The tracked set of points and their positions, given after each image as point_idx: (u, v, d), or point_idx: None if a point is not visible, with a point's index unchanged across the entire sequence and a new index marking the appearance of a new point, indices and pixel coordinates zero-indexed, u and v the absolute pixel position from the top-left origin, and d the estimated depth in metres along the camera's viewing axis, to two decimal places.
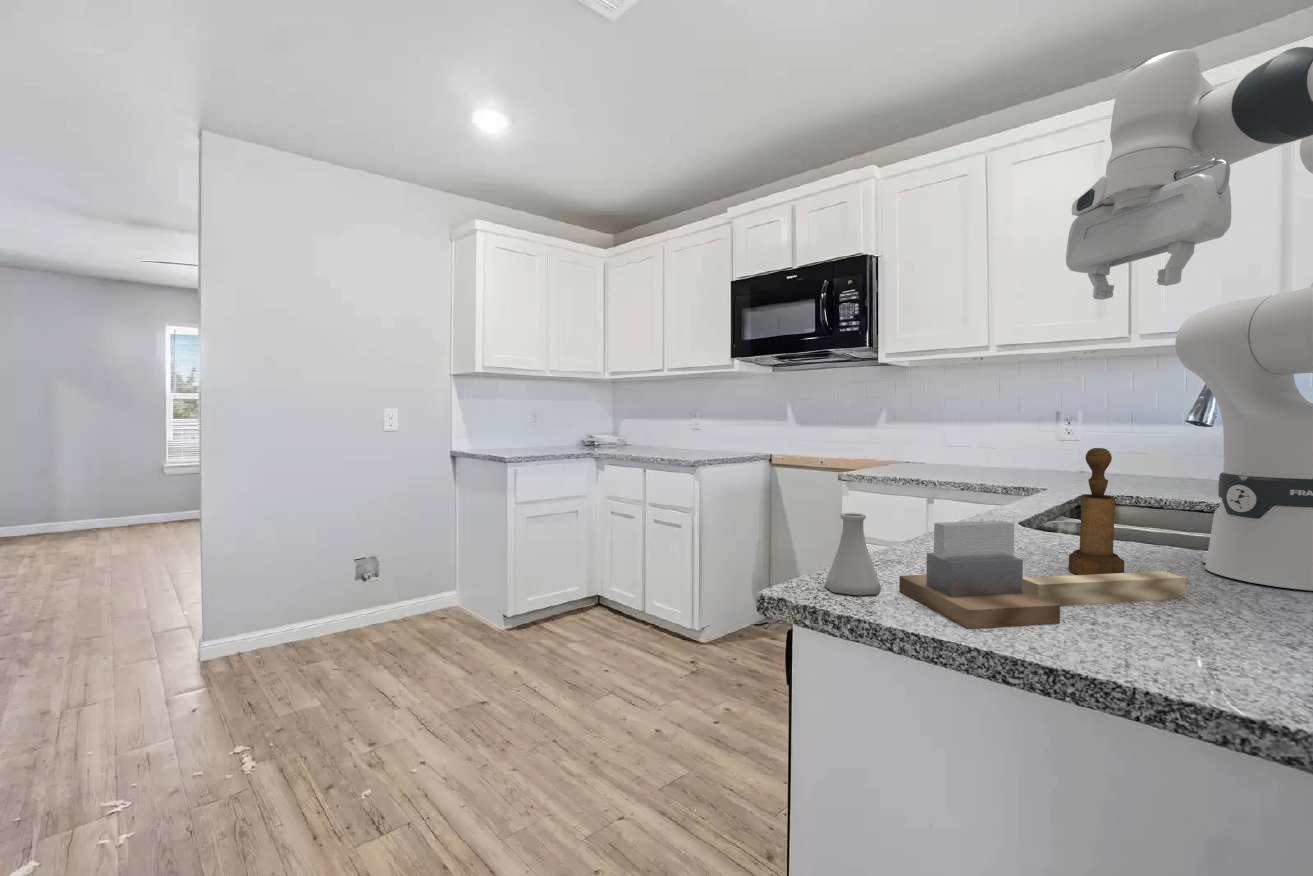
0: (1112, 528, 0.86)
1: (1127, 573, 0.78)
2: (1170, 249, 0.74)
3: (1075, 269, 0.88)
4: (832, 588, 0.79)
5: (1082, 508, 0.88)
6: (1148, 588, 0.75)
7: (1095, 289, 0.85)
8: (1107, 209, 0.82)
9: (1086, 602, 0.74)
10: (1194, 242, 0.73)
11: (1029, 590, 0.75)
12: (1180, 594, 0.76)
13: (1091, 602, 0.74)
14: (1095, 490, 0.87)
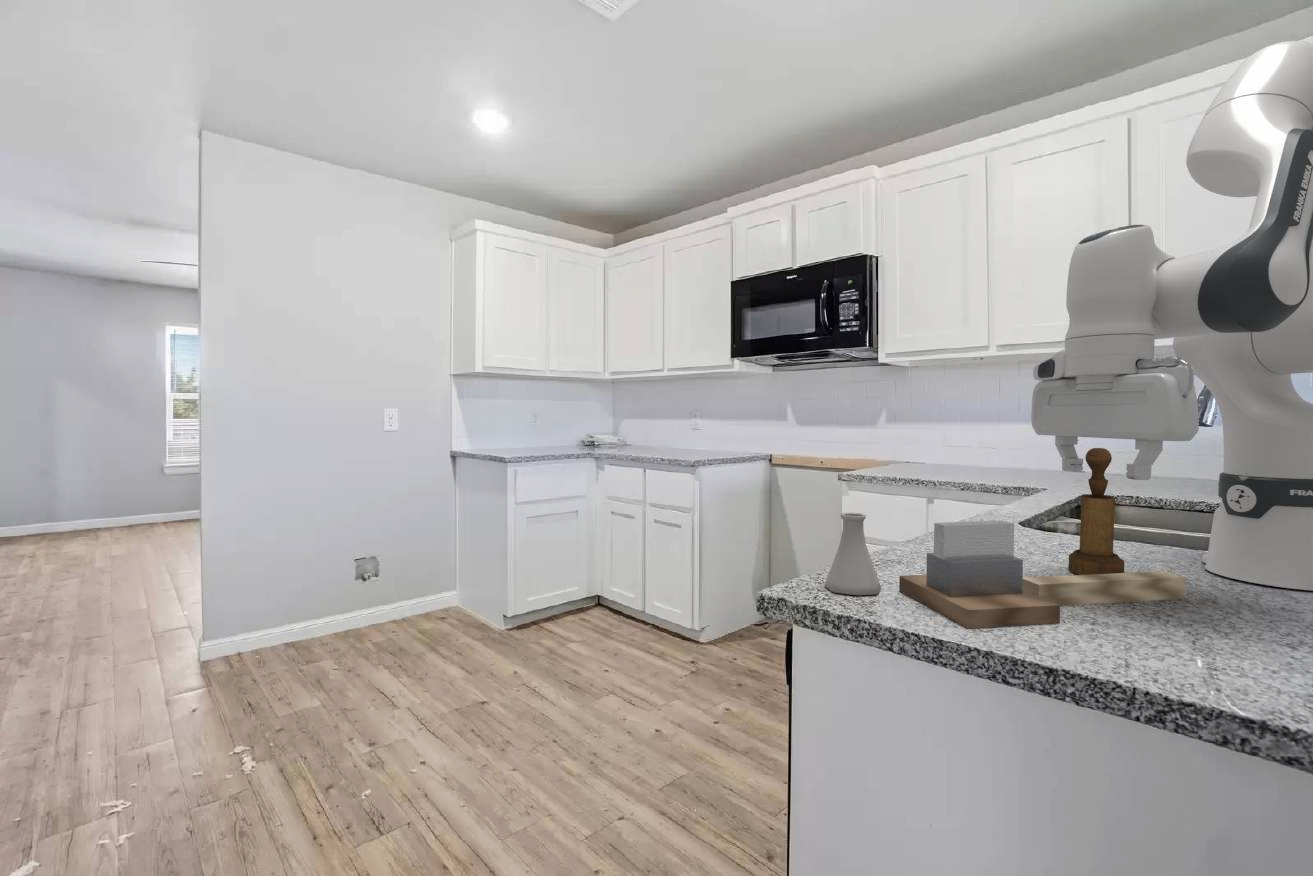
0: (1112, 528, 0.86)
1: (1127, 573, 0.78)
2: (1137, 445, 0.70)
3: (1042, 434, 0.83)
4: (832, 588, 0.79)
5: (1082, 508, 0.88)
6: (1148, 588, 0.75)
7: (1064, 462, 0.80)
8: (1069, 383, 0.78)
9: (1086, 602, 0.74)
10: None
11: (1030, 590, 0.75)
12: (1180, 594, 0.76)
13: (1091, 602, 0.74)
14: (1095, 490, 0.87)
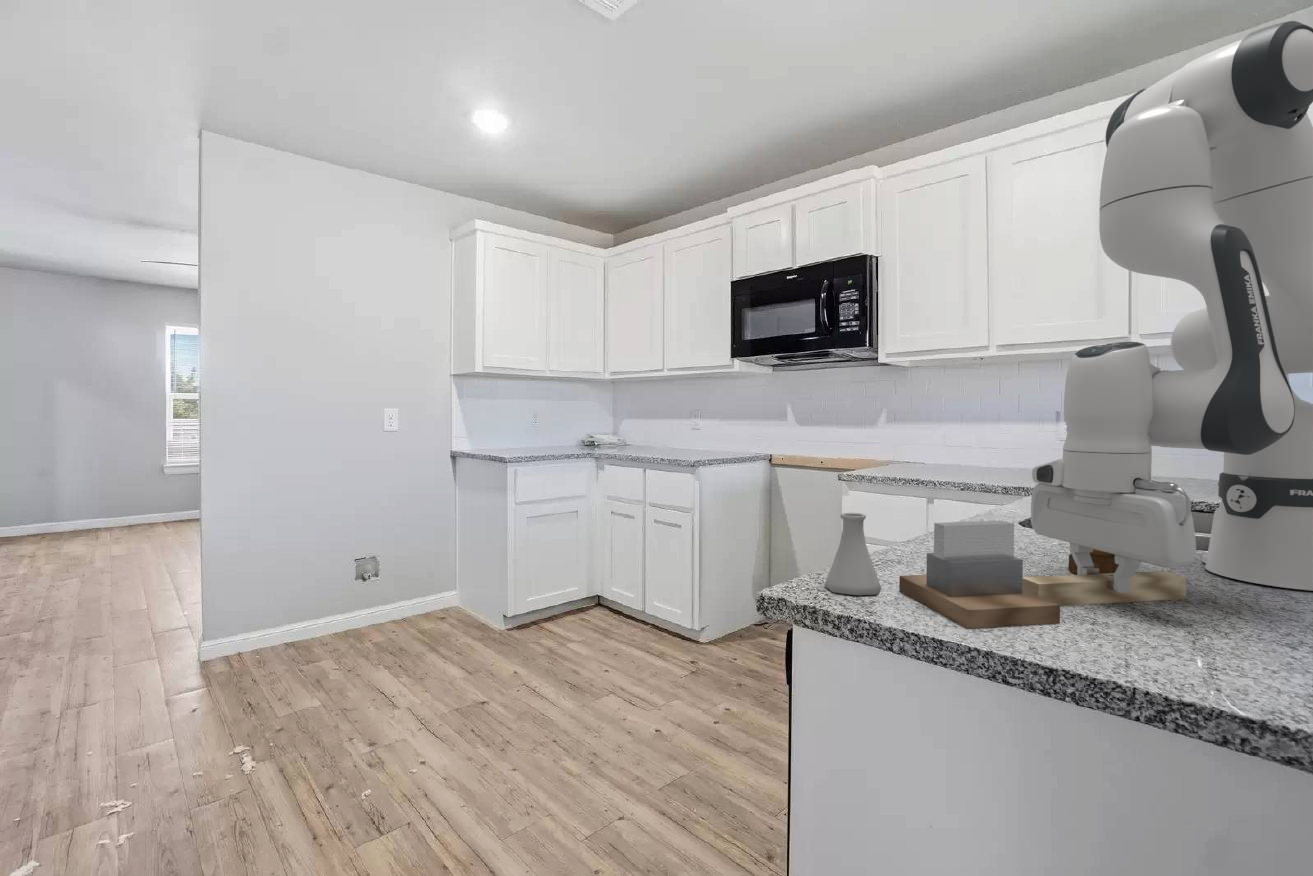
0: None
1: None
2: (1116, 560, 0.73)
3: None
4: (832, 588, 0.79)
5: None
6: (1148, 588, 0.75)
7: (1079, 571, 0.78)
8: (1068, 491, 0.78)
9: (1086, 602, 0.74)
10: None
11: (1030, 590, 0.75)
12: (1180, 594, 0.76)
13: (1091, 601, 0.74)
14: None
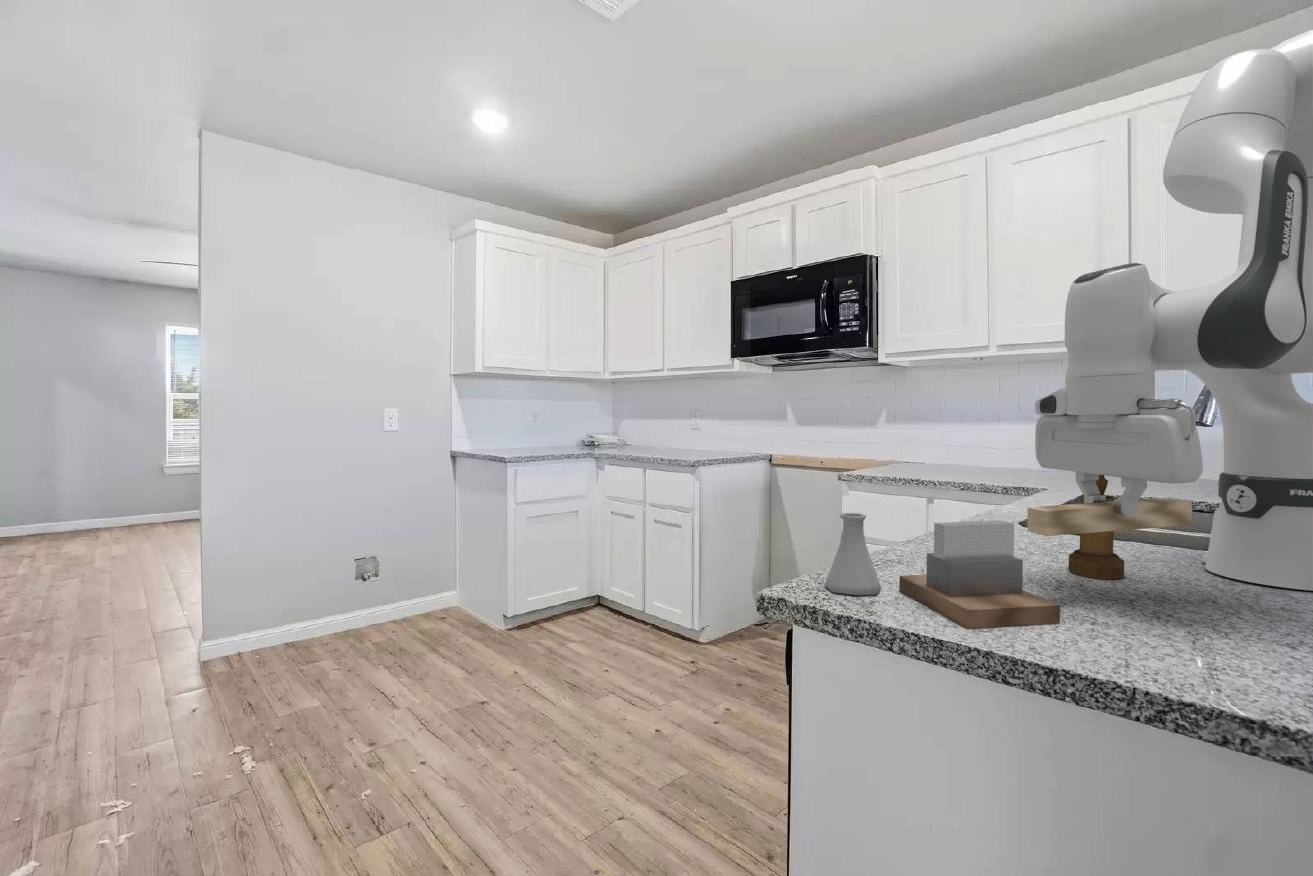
0: None
1: None
2: (1123, 483, 0.73)
3: None
4: (832, 588, 0.79)
5: None
6: (1155, 512, 0.75)
7: (1085, 499, 0.78)
8: (1072, 420, 0.78)
9: (1094, 528, 0.74)
10: None
11: (1037, 519, 0.74)
12: (1187, 518, 0.76)
13: (1099, 527, 0.74)
14: None
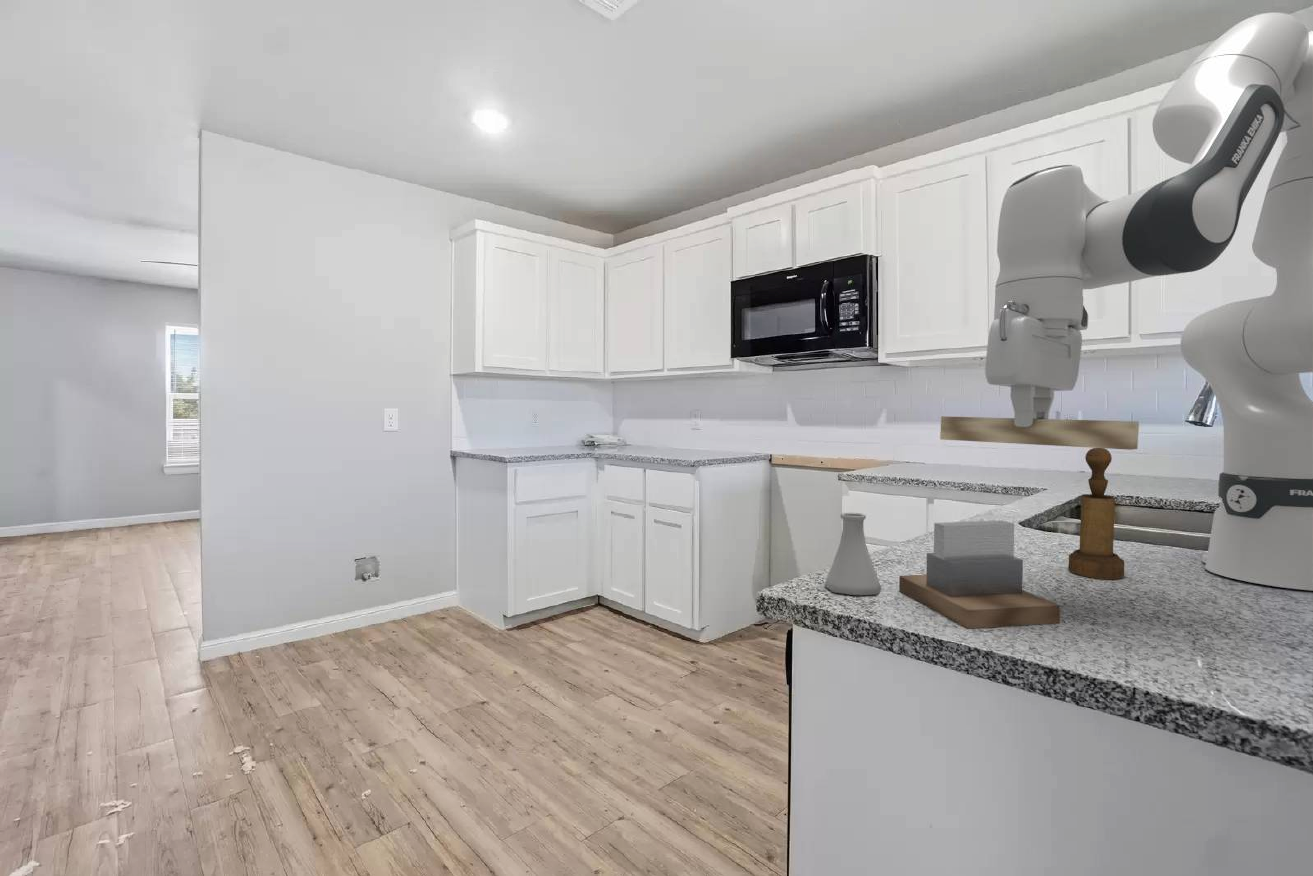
0: (1112, 528, 0.86)
1: None
2: None
3: None
4: (832, 588, 0.79)
5: (1082, 508, 0.88)
6: (1074, 429, 0.68)
7: None
8: None
9: (993, 437, 0.75)
10: None
11: None
12: (1123, 441, 0.65)
13: (999, 438, 0.74)
14: (1095, 490, 0.87)
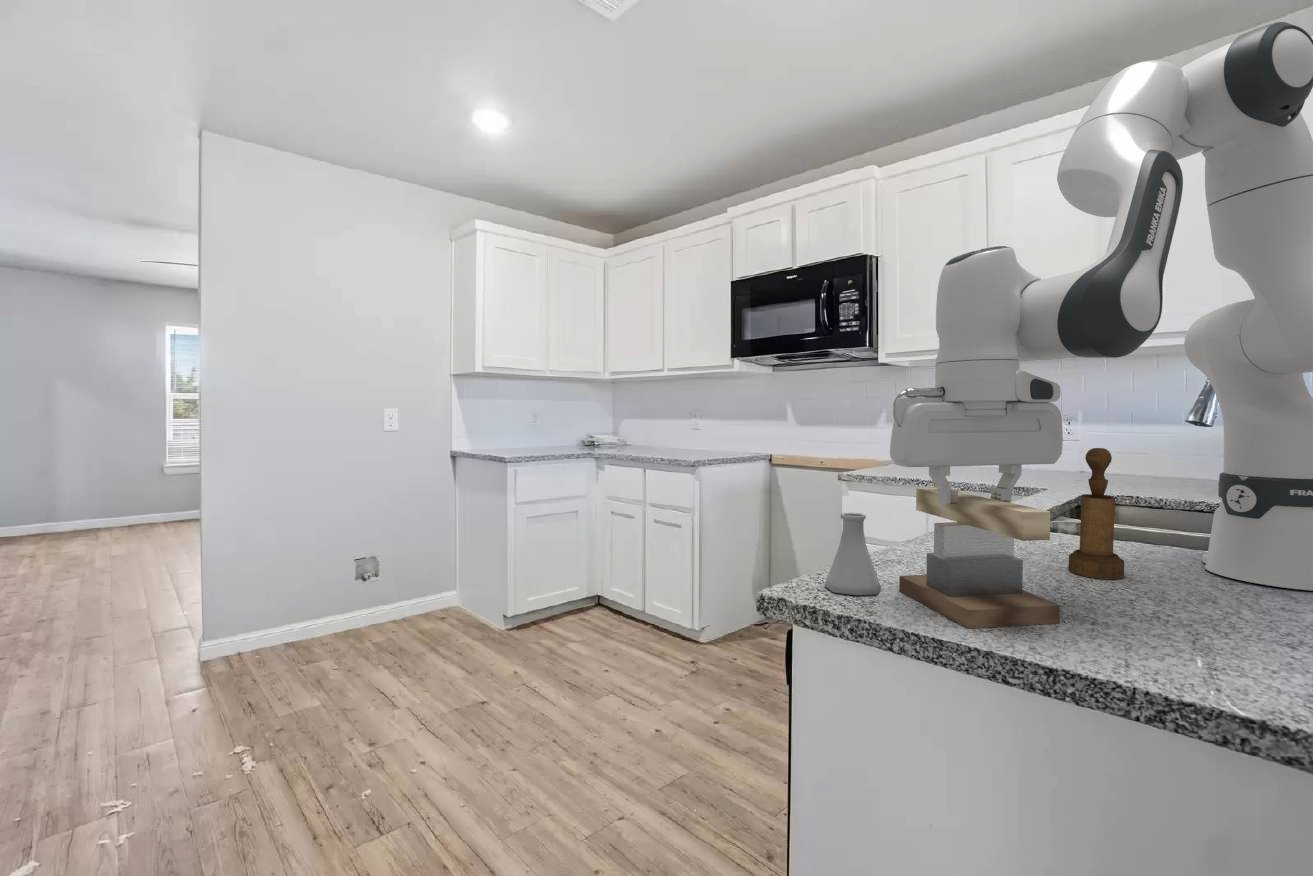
0: (1112, 528, 0.86)
1: (1011, 503, 0.69)
2: None
3: None
4: (832, 588, 0.79)
5: (1082, 508, 0.88)
6: (990, 514, 0.68)
7: None
8: None
9: (944, 514, 0.77)
10: None
11: None
12: (1018, 531, 0.64)
13: (947, 514, 0.76)
14: (1095, 490, 0.87)
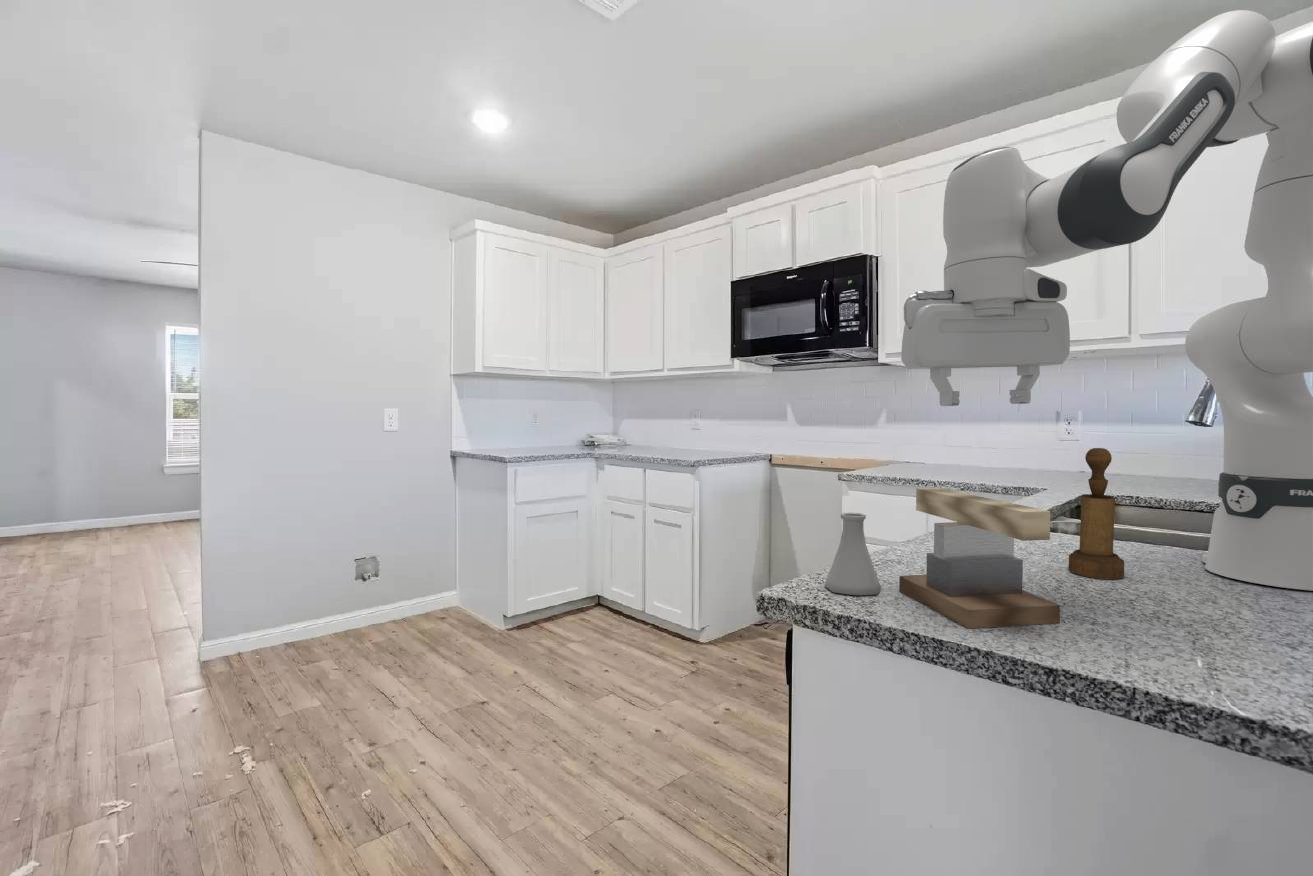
0: (1112, 528, 0.86)
1: (1011, 503, 0.69)
2: None
3: None
4: (832, 588, 0.79)
5: (1082, 508, 0.88)
6: (990, 514, 0.68)
7: None
8: None
9: (944, 514, 0.77)
10: (936, 367, 0.73)
11: None
12: (1018, 531, 0.64)
13: (947, 514, 0.76)
14: (1095, 490, 0.87)
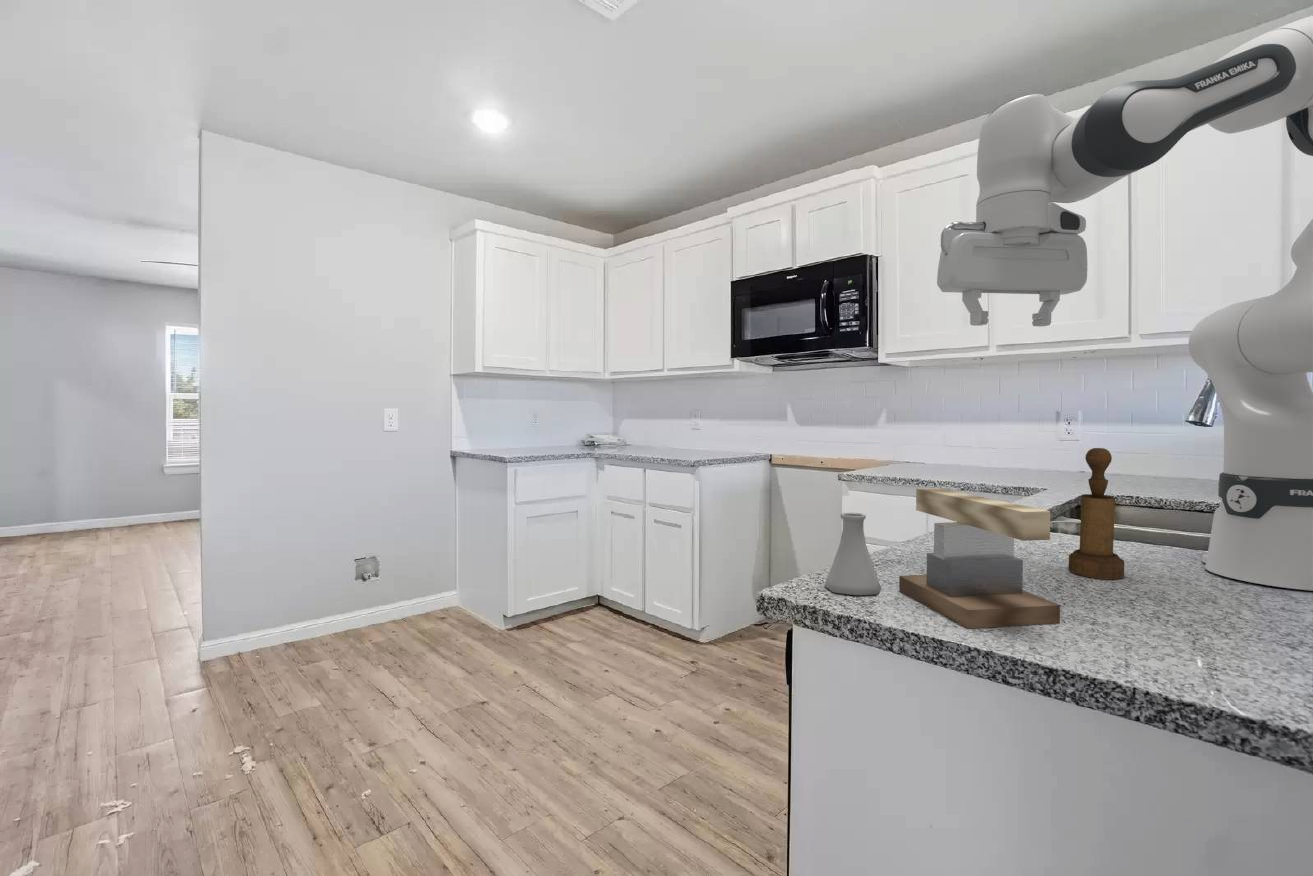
0: (1112, 528, 0.86)
1: (1011, 503, 0.69)
2: None
3: None
4: (832, 588, 0.79)
5: (1082, 508, 0.88)
6: (990, 514, 0.68)
7: None
8: None
9: (944, 514, 0.77)
10: (968, 289, 0.82)
11: None
12: (1018, 531, 0.64)
13: (947, 514, 0.76)
14: (1095, 490, 0.87)
